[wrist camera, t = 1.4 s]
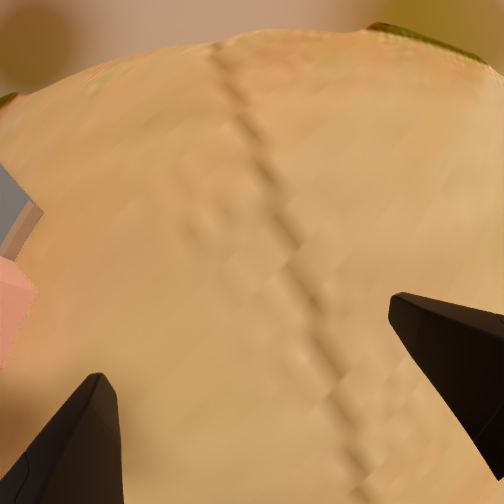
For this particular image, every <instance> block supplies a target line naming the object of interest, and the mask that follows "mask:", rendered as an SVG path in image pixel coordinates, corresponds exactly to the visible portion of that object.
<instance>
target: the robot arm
mask: <svg viewBox="0 0 504 504" xmlns="http://www.w3.org/2000/svg"><path fill="white" fill-rule="evenodd" d="M388 319H389V322H390V324H391V326H392V327H393V329H394V330H395V332H396V334H397V335H398V337H399V338H400V340H401V341H402V343H403V345H404V346H405V348H406V349H407V351H408V352H409V354H410V355H411V357H412V358H413V360H414V361H415V362H416V364H417V365H418V366H419V367H420V369H421V370H422V371H423V373H424V374H425V375H426V377H427V378H428V379H429V381H430V382H431V383H432V385H433V386H434V387H435V389H436V390H437V391H438V393H439V394H440V395H441V397H442V398H443V399H444V401H445V402H446V404H447V405H448V406H449V408H450V409H451V411H452V412H453V413H454V415H455V416H456V418H457V419H458V420H459V422H460V423H461V425H462V426H463V428H464V429H465V431H466V432H467V434H468V435H469V436H470V438H471V439H472V441H473V443H474V444H475V446H476V447H477V449H478V450H479V452H480V453H481V455H482V457H483V458H484V460H485V461H486V463H487V464H488V466H489V468H490V469H491V471H492V473H493V474H494V476H495V477H496V479H497V480H498V481H499V480H501V479H502V478H503V477H504V315H501V314H494V313H492V312H487V311H483V310H479V309H474V308H470V307H466V306H461V305H457V304H453V303H448V302H444V301H440V300H435V299H431V298H427V297H422V296H418V295H414V294H410V293H405V292H400V293H397V294H395V295H393V296H392V297H391V299H390V306H389V314H388ZM0 504H124V497H123V483H122V462H121V436H120V427H119V417H118V405H117V395H116V393H115V390H114V389H113V387H112V386H111V384H110V383H109V381H108V379H107V378H106V376H105V375H104V374H103V373H92V374H90V375H88V377H87V378H86V379H85V380H84V381H83V382H82V383H81V385H80V386H79V387H78V388H77V389H76V390H75V391H74V393H73V394H72V395H71V396H70V397H69V398H68V400H67V401H66V402H65V403H64V404H63V405H62V407H61V408H60V409H59V410H58V411H57V412H56V414H55V415H54V416H53V417H52V418H51V420H50V421H49V422H48V423H47V424H46V426H45V427H44V428H43V429H42V430H41V432H40V433H39V434H38V435H37V437H36V438H35V439H34V440H33V442H32V443H31V444H30V445H29V446H28V448H27V449H26V451H24V453H23V454H22V455H21V457H20V458H19V459H18V460H17V461H16V463H15V464H14V465H13V466H12V468H11V469H10V470H9V471H8V472H7V473H6V474H5V476H4V477H3V478H2V479H1V480H0Z"/></svg>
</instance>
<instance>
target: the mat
mask: <svg viewBox="0 0 504 504" xmlns="http://www.w3.org/2000/svg"><path fill="white" fill-rule="evenodd" d="M43 213H44V212H43V211H42V210H41V209H40V208H39V207H38V206H37V205H36V204H35V203H34V202H33V201H32V200H31V198H30V197H29V196H28V195H27V194H26V193H25V192H24V191H23V190H22V189H21V187H20V186H19V185H18V184H17V183H16V182H15V181H14V179H13V178H12V177H11V176H10V175H9V173H8V172H7V171H6V170H5V169H4V167H3V166H2V165H1V164H0V256H2V257H4V258H6V259H9V260H11V261H14V259H15V257H16V256H17V254H18V252H19V250H20V249H21V247H22V245H23V244H24V242H25V240H26V239H27V237H28V235H29V234H30V232H31V231H32V229H33V228H34V226H35V224H36V223H37V221H38V220H39V218H40V217H41V215H42V214H43Z"/></svg>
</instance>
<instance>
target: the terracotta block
mask: <svg viewBox="0 0 504 504" xmlns="http://www.w3.org/2000/svg"><path fill="white" fill-rule="evenodd" d="M38 293H39V292H38V291H37V289H36V288H35V287H34V286H33V285H32V283H31V282H30V281H29V280H28V278H27V277H26V276H25V275H24V273H23V272H22V271H21V269H20V268H19V267H18V265H17V264H16V263H15V262H13V261H11V260H9V259H6V258H4V257H2V256H0V369H3V368H4V365H5V363H6V360H7V358H8V356H9V353H10V351H11V348H12V346H13V344H14V341H15V339H16V337H17V335H18V333H19V331H20V328H21V326H22V324H23V322H24V320H25V318H26V316H27V314H28V312H29V310H30V308H31V306H32V304H33V303H34V301H35V299H36V297H37V295H38Z"/></svg>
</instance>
